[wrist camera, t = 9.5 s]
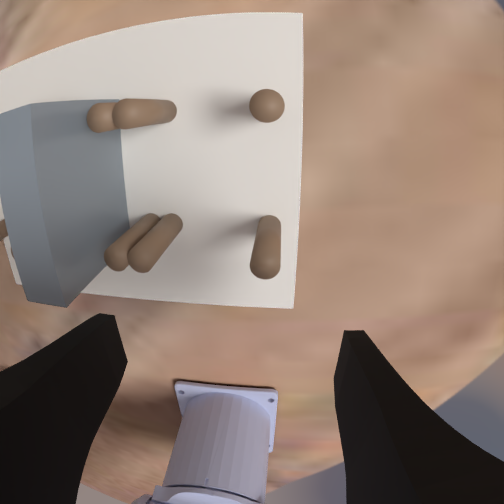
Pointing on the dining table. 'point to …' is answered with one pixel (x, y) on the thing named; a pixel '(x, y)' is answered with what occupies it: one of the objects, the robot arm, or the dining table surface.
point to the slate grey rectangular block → (60, 196)
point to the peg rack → (191, 151)
